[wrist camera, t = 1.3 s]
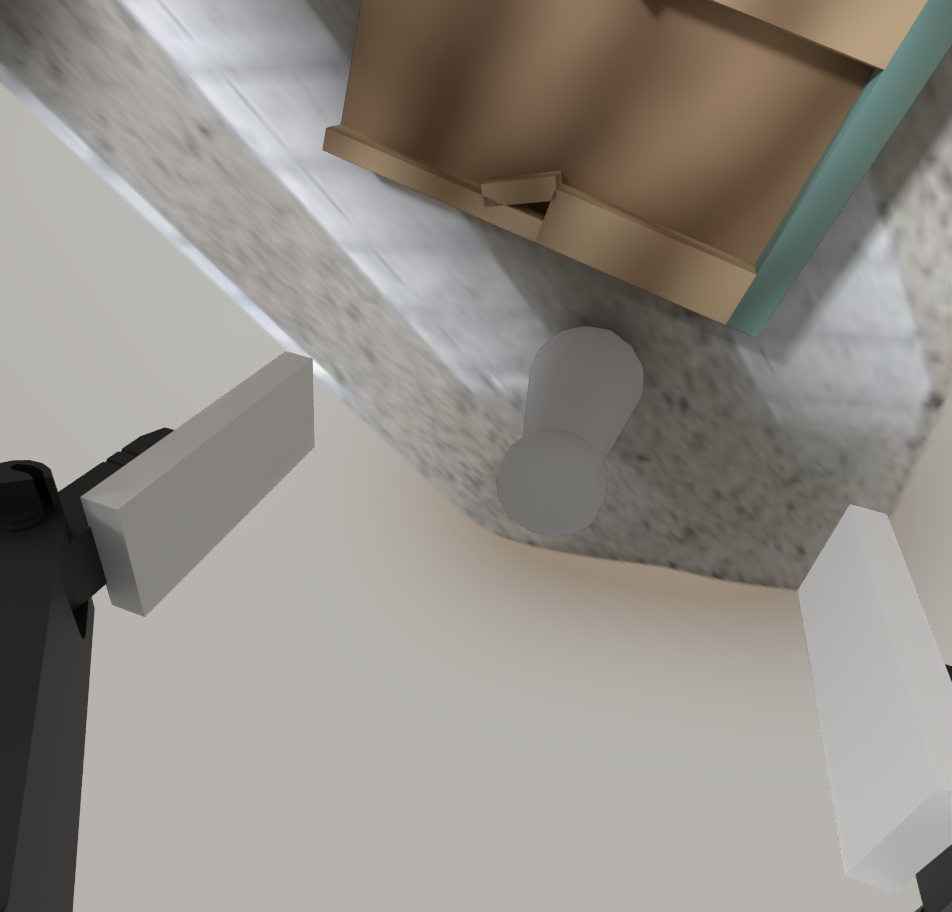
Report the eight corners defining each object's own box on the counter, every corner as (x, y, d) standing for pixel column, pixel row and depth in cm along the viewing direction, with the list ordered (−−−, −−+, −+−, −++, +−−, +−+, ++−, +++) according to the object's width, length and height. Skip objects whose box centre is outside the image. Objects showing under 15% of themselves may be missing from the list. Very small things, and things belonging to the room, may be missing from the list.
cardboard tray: (346, 143, 32) (322, 150, 30) (408, -211, 24) (381, -233, 22) (752, 319, 31) (755, 338, 29) (955, 6, 23) (978, 3, 21)
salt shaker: (536, 312, 34) (462, 432, 23) (647, 309, 32) (621, 438, 21) (544, 409, 37) (481, 554, 26) (645, 411, 35) (622, 568, 24)
